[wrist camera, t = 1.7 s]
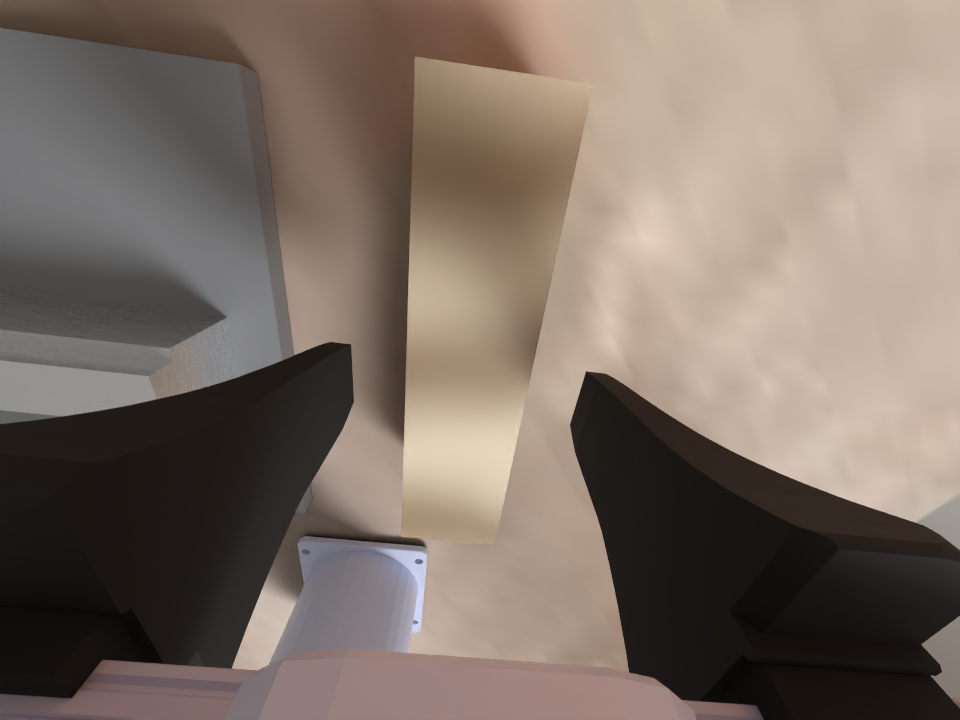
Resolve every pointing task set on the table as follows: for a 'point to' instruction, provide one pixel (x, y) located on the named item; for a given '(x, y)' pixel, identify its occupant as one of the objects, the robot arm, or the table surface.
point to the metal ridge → (104, 354)
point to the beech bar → (478, 280)
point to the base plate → (140, 188)
